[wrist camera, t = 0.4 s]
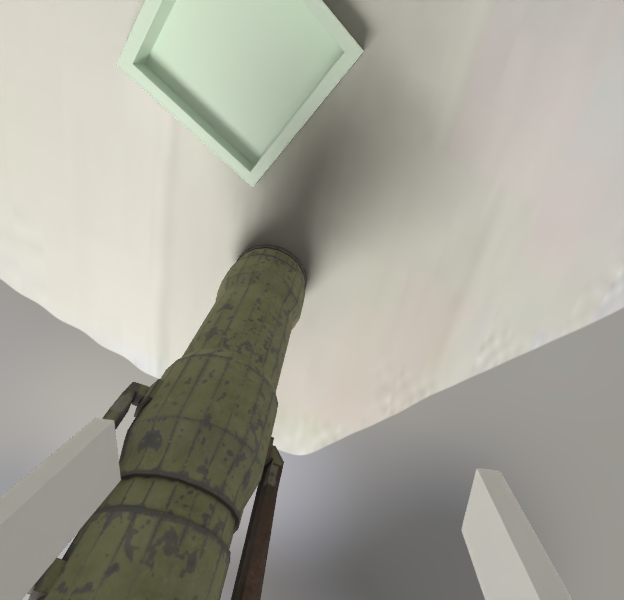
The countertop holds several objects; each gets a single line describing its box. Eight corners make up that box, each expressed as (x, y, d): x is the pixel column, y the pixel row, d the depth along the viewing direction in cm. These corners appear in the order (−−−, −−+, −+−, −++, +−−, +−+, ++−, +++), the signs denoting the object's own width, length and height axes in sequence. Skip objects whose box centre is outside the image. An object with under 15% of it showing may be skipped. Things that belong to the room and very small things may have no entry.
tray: (221, -121, 23) (207, -140, 21) (363, 52, 27) (363, 50, 25) (133, 65, 29) (116, 64, 27) (258, 180, 34) (252, 187, 32)
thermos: (299, 324, 44) (185, 821, 15) (213, 284, 42) (-115, 769, 13) (332, 272, 39) (261, 858, 10) (237, 224, 37) (-202, 783, 8)
